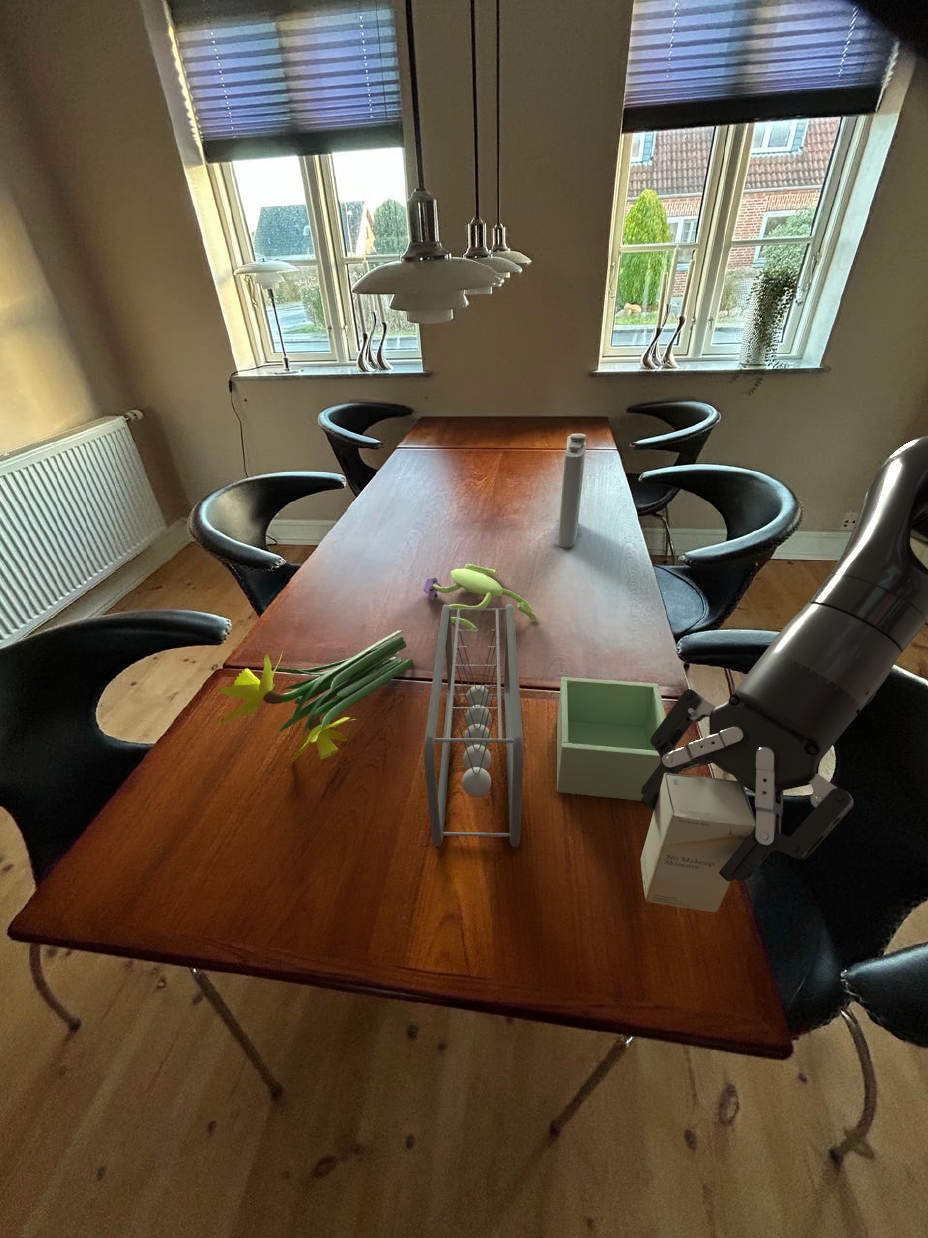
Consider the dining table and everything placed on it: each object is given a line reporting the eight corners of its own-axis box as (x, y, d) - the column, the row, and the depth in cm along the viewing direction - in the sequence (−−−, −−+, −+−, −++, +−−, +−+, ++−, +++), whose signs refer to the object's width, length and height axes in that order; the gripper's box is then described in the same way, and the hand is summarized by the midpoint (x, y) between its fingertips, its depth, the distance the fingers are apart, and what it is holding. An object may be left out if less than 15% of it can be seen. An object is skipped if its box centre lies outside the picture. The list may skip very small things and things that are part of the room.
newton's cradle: (448, 688, 89) (442, 598, 79) (510, 688, 88) (513, 598, 78) (432, 853, 64) (422, 753, 54) (519, 855, 64) (524, 754, 54)
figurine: (453, 651, 97) (452, 626, 94) (414, 583, 118) (411, 561, 115) (543, 629, 102) (545, 605, 99) (490, 568, 123) (490, 546, 120)
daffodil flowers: (451, 682, 91) (307, 792, 62) (389, 700, 99) (235, 806, 69) (412, 592, 90) (246, 661, 60) (352, 617, 98) (179, 689, 68)
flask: (575, 548, 130) (586, 445, 116) (557, 546, 131) (565, 444, 117) (578, 519, 144) (587, 425, 130) (561, 518, 145) (568, 424, 131)
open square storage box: (662, 803, 69) (675, 757, 64) (557, 792, 71) (562, 747, 66) (648, 727, 80) (658, 683, 75) (557, 720, 82) (561, 676, 77)
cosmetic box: (644, 903, 47) (669, 817, 40) (639, 857, 50) (661, 770, 43) (720, 914, 46) (759, 827, 39) (709, 866, 49) (743, 779, 42)
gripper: (719, 617, 44) (600, 773, 45) (917, 719, 34) (754, 917, 35) (742, 646, 49) (634, 786, 51) (920, 743, 39) (778, 914, 40)
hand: (684, 839), depth 43 cm, fingers closed on cosmetic box, 7 cm apart
